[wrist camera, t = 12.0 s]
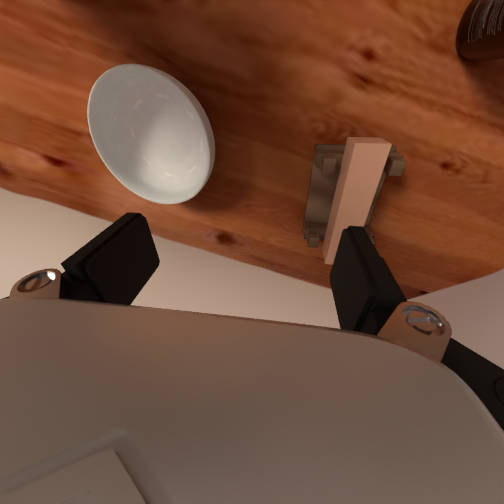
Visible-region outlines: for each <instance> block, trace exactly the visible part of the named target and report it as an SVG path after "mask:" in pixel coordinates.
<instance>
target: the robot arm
mask: <svg viewBox="0 0 504 504" xmlns="http://www.w3.org/2000/svg"><path fill="white" fill-rule="evenodd" d="M159 262H160V260H159V257H158V254H157V251H156V248H155V244H154V242H153V238H152V235H151V232H150V229H149V226H148V223H147V220H146V218H145V217H144V216H143V215H142V214H140V213H126V214H125V215H123V216H122V217H121V218H119V219H118V220H117V221H115V222H114V223H113V224H112V225H111V226H109V227H108V228H106V229H105V230H104V231H103V232H101V233H100V234H99V235H97V236H96V237H95V238H93V239H92V240H91V241H90V242H88V243H87V244H86V245H84V246H83V247H82V248H80V249H79V250H78V251H76V252H75V253H74V254H73V255H71V256H70V257H69V258H67V259H66V260H65V261H63V262H62V263H61V265H62V266H63V268H64V269H65V272H64V273H61V272H60V271H59V270H57V269H44V270H40V271H36V272H33V273H31V274H29V275H27V276H25V277H23V278H22V279H20V280H19V281H18V282H17V283H16V284H15V285H14V286H13V288H12V290H11V292H10V296H9V297H6V298H3V299H0V504H504V369H502V368H500V367H499V366H497V365H495V364H494V363H492V362H490V361H489V360H487V359H485V358H484V357H482V356H480V355H478V354H477V353H475V352H474V351H472V350H470V349H469V348H467V347H465V346H464V345H462V344H460V343H459V342H457V341H456V340H454V339H452V338H451V334H452V329H451V326H450V324H449V322H448V321H447V320H446V319H445V317H444V316H442V315H441V314H440V313H439V312H438V311H436V310H434V309H433V308H431V307H429V306H427V305H424V304H422V303H418V302H411V301H410V302H409V301H407V300H406V298H405V296H404V294H403V293H402V291H401V289H400V287H399V286H398V284H397V282H396V280H395V279H394V277H393V275H392V273H391V272H390V270H389V268H388V266H387V264H386V263H385V261H384V259H383V258H382V257H380V256H379V254H378V252H377V250H376V249H375V247H374V245H373V243H372V241H371V239H370V238H369V236H368V234H367V232H366V230H365V229H364V227H363V226H348V228H347V229H343V231H342V234H341V237H340V241H339V245H338V248H337V252H336V255H335V259H334V262H333V266H332V269H331V273H330V283H331V288H332V292H333V297H334V301H335V306H336V310H337V314H338V319H339V323H340V328H341V329H337V328H329V327H322V326H314V325H305V324H298V323H289V322H280V321H272V320H263V319H253V318H244V317H236V316H227V315H217V314H208V313H199V312H190V311H180V310H171V309H161V308H152V307H142V306H132V305H131V303H132V302H133V300H134V299H135V298H136V296H137V295H138V294H139V292H140V291H141V289H142V288H143V287H144V285H145V284H146V283H147V281H148V280H149V278H150V277H151V276H152V274H153V273H154V272H155V270H156V269H157V268H158V266H159Z"/></svg>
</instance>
